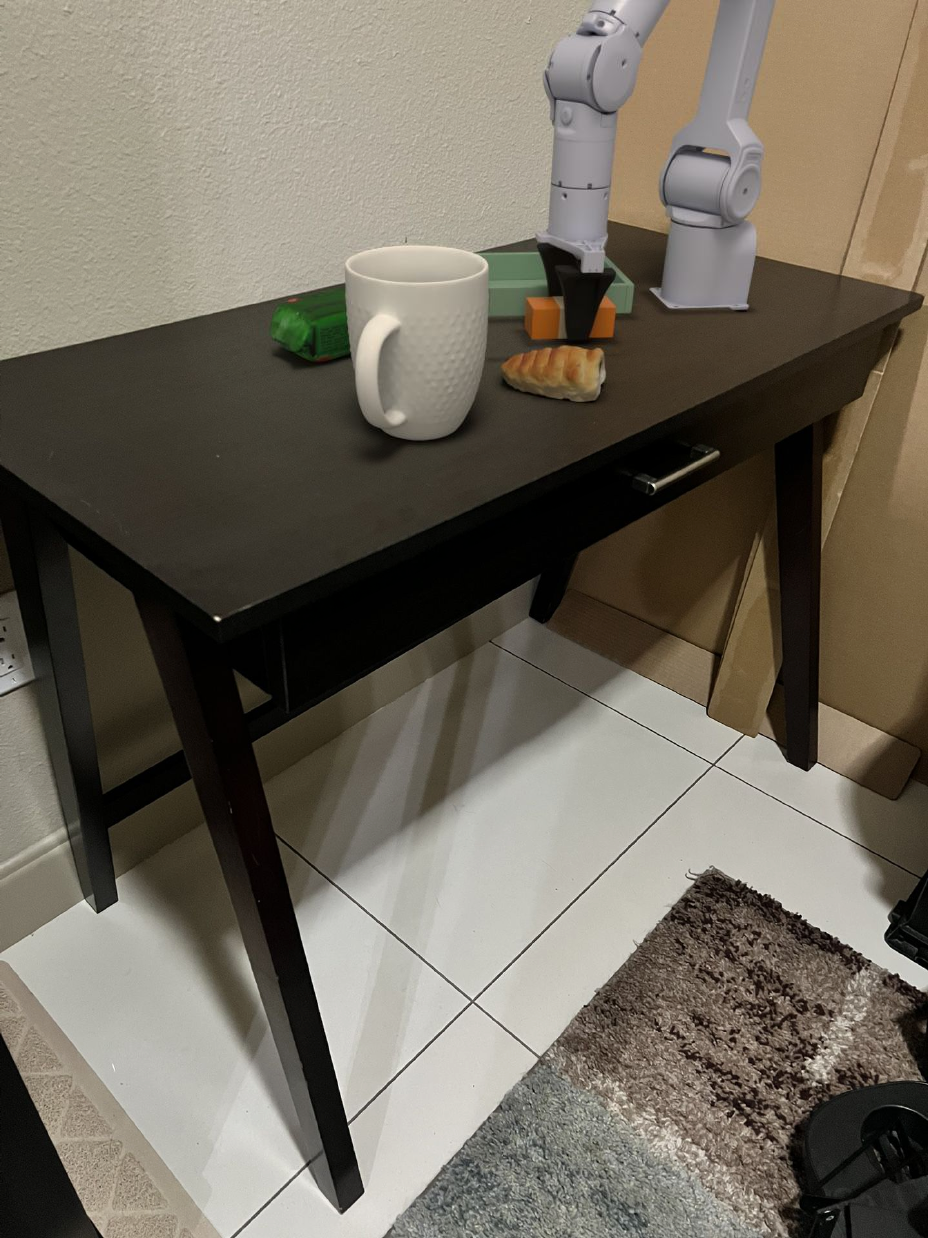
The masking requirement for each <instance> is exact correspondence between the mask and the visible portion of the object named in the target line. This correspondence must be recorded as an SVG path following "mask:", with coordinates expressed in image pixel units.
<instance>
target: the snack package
mask: <svg viewBox="0 0 928 1238" xmlns="http://www.w3.org/2000/svg"><path fill="white" fill-rule="evenodd" d="M345 294H346V286H343V287H338V288H333V289H329V290H324V291H320V292H316V293H312V294H306V295H301V296H298V297H295V298H290V299H288V300H286V301H283V302H282V303H280V304H279V305H277V307H276V308H275V310H274V312H273V313H272V316H271V321H270V326H269V336H270V338H271V339H272V341H274V342H276V343H280V345H282V346H283V347H284V348H285V349H286V350H288V351H290V352H292V353H293V354H296V355H298V356H299V357H301V358H303V359H305V360H307V361H311V362H314V363H321V362H322V363H323V362H328V361H331V360H335V359H338V358H340V357H345V356H348V355H351V351H350V341H349V333H348V323H347V319H348V318H347V314H346V313H347V307H346V306H347V305H346V297H345Z"/></svg>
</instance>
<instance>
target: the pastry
mask: <svg viewBox="0 0 928 1238" xmlns="http://www.w3.org/2000/svg"><path fill="white" fill-rule="evenodd" d="M605 361H606V360H605V352H604V350H603V349H602V348H600V347H596V348H594V349H587V348H583V347H579V346H576V345H575V346H571V345H560V346H558V347H556V348H554V347H544V348H542V349H533V350H531V351H529V352H528V353H527V352H521V353H519V354H515V355H513V356H511V357H510V358H509V359H508V360H506V361H505V362H503V363H502V364H501V367H500V370H501V375H502V378H503V379H504V381H505V382H506V383H507V384H508V385H509V386H511V387H512V388H514V390H516V389H517V390H519V391H520V392H523V393H525V392H528V393H531V394H534V395H535V396H536V395H539V396H545V397H547V398H552V399H556V400H557V399H558V400H563V399H569V400H570V402H571V401H572V402H580V403H581V402H583V403H584V402H590V401H596V400H597V398H598V397H599V395H600V394H601V388H602V387H601V385H602V384H603V383H604V382H605V381H606V377H607V373H606V372H607V371H606V367H605V366H606V363H605Z"/></svg>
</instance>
